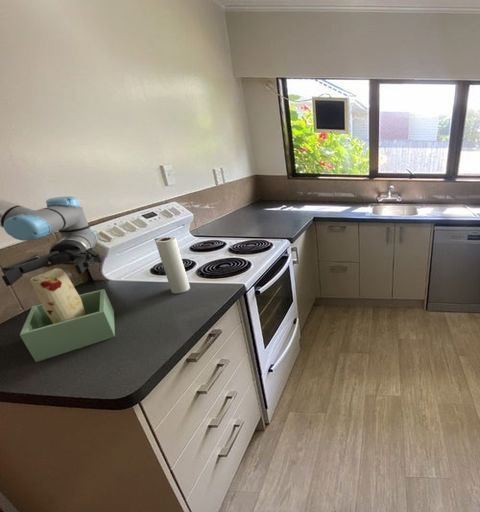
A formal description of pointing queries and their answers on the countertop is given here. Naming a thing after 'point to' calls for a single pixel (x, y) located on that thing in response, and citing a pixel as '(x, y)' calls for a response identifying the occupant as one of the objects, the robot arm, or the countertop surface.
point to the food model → (58, 296)
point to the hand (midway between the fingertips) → (43, 275)
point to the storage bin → (69, 328)
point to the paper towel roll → (172, 264)
